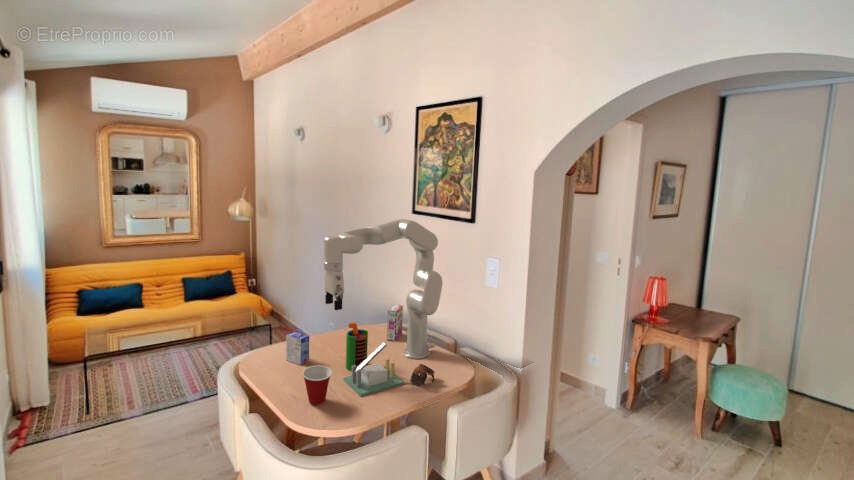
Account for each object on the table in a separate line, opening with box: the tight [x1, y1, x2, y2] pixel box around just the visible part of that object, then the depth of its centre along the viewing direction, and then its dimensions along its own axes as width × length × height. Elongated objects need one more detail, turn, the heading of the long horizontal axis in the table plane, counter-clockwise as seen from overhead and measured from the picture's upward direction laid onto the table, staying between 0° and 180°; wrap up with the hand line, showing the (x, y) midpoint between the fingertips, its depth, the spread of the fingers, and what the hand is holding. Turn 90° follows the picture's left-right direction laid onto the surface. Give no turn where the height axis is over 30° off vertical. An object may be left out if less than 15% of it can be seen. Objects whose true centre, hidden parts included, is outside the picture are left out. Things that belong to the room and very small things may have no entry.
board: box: [343, 357, 405, 397], centre depth 177 cm, size 20×16×8 cm
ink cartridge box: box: [285, 328, 310, 366], centre depth 194 cm, size 10×6×14 cm, turn 59°
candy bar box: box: [386, 304, 404, 342], centre depth 226 cm, size 11×5×16 cm, turn 165°
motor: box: [345, 321, 369, 372], centre depth 190 cm, size 10×9×20 cm
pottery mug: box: [409, 363, 435, 387], centre depth 177 cm, size 12×10×8 cm
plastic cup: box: [301, 365, 333, 406], centre depth 159 cm, size 11×11×12 cm
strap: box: [354, 342, 388, 373], centre depth 175 cm, size 16×3×1 cm
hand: (333, 306), depth 178 cm, fingers open, 9 cm apart
